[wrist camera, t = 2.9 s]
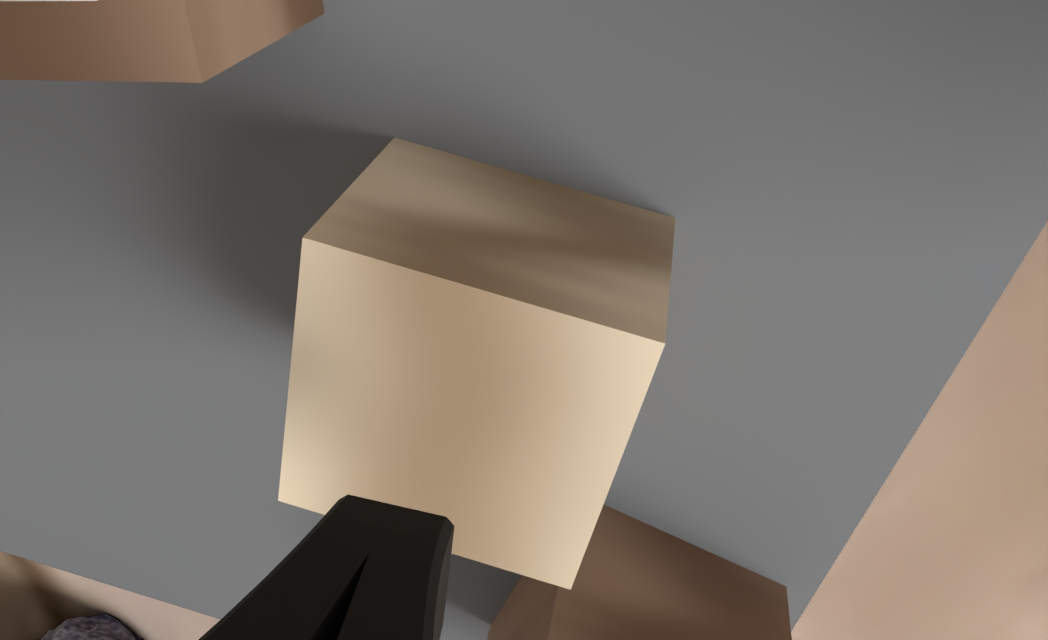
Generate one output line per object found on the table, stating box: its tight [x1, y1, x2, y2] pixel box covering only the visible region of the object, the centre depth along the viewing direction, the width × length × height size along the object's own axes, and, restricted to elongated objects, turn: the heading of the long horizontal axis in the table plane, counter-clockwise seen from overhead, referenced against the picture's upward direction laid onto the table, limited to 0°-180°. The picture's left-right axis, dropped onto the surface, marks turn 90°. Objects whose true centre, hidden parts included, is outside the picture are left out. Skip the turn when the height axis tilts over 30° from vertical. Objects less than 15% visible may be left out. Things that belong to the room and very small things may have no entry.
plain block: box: [278, 138, 675, 590], centre depth 14 cm, size 5×5×4 cm
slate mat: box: [0, 0, 1048, 640], centre depth 16 cm, size 20×24×1 cm
